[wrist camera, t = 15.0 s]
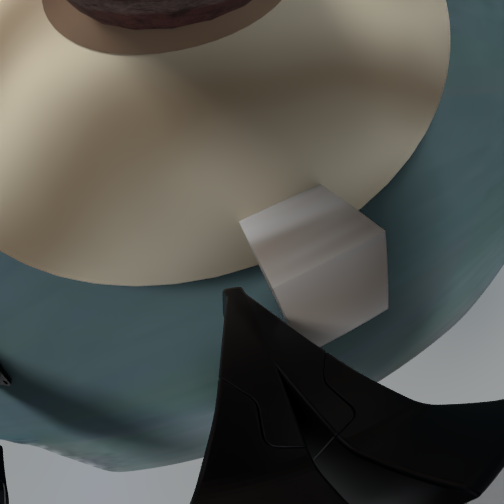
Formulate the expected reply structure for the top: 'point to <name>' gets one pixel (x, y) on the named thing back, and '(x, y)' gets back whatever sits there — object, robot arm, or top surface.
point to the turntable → (217, 145)
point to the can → (155, 12)
